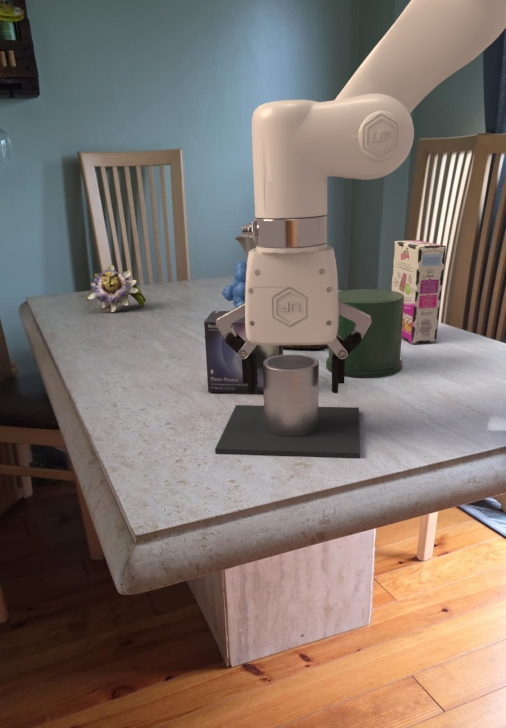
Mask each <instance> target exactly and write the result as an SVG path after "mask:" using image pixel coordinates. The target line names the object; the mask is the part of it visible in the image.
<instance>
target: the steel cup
mask: <svg viewBox="0 0 506 728" xmlns="http://www.w3.org/2000/svg"><path fill="white" fill-rule="evenodd" d="M319 380H320V361H319V360H318V358H317V357H314V356H310V355H307V354H295V353H294V354H283V355H279V356H274V357H270V358H268V359H266V360H265V361H264V362H263V382H264V394H263V406H264V420H265V429H266V430H267V431H268V432H269V433H271V434H274V435H278V436H284V437H297V436H304V435H308V434H311V433H313V432H314V431H316V430H317V428H318V407H319V391H320V390H319V388H320V387H319V385H320V384H319V383H320V381H319Z"/></svg>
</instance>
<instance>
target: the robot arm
mask: <svg viewBox="0 0 506 728" xmlns="http://www.w3.org/2000/svg"><path fill="white" fill-rule="evenodd" d="M505 29H506V0H410V1H409V2H408V3H407V5H406V6H405V8H404V9H403V11H401V13H400V14H399V16H398V17H397V19H396V20H395V22H394V23H393V24H391V26H390V27H389V29H388V30H387V32H386V33H385V34H384V35H383V36H382V38H381V39H380V40H379V41H378V42H377V44H375V46H374V47H373V49H372V50H371V51H370V52H369V54H368V55H367V56H366V58H365V59H364V60H363V61H362V63H361V64H360V65H359V66H358V68H357V69H356V70H355V72H354V73H353V74H352V76H351V77H350V79H349V80H348V81H347V83H346V84H344V85H345V86H343V88H342V89H341V91H340V92H339V94H337V96H336V98H335V99H334V100H327V101H316V100H310V99H285V100H274V101H269V102H265V103H262V104H260V105H258V106H257V107H256V108H255V110H254V111H253V113H252V117H251V147H252V148H251V151H252V175H253V176H252V177H253V200H254V201H253V203H254V217H255V218H253V221H252V222H251V223H248V224H242V225H241V235H242V237H243V238H249V239H253V241H255V245H256V248H255V249H252V250H250V251H249V254H248V259H246V260H247V261H246V264H247V269H246V285H245V303H243V304H241V305H240V306H238V307H236V308H235V307H234V308H232V309H231V310H228V311H229V312H227V313H225V314H224V315H222V316H220V317H219V318H218V319H217V320H216V325H217V327H218V329H219V330H220V332H221V334H222V336H223V337H224V338H225V342H226V343H227V344H228V345H229V346H230V347H231V348H232V349H233V350H234V351H235V352H236V353H237V354H238V356H239V358H241V359H242V375H243V383H248V392H253V391H255V389H256V387H257V384H258V378H257V355H256V354H255V352H254V349H255V347H256V346H257V345H323V344H327V345H328V346H327V347H328V349H329V348H330V349H331V350H332V351H333V352H334V354H333V356H332V372H331V393H333V394H339V385H344V384H345V377H346V376H345V358H346V357H347V355H348V354H349V353H350V352H351V351H352V350H353V349H354V348H355V347H356V346H357V345H358V344H360V342H361V340H362V338H363V336H364V335H365V333H366V331H367V330H368V328H369V326H370V324H371V322H372V321H371V316H370V315H368V314H366V313H364V312H362V311H360V310H358V309H356V308H354V307H352V306H350V305H348V304H346V303H344V302H342V301H340V300H338V292H339V280H338V268H337V267H338V266H337V259H336V254H335V248H334V247H333V246H331V245H328V179H329V177H338V178H342V179H354V180H361V181H363V180H364V181H365V180H366V181H367V180H368V181H369V180H377V179H381V178H384V177H386V176H388V175H390V174H391V173H393V172H394V171H396V170H397V169H398V168H399V167H401V165H402V164H403V163H404V162H405V160H406V159H407V158H408V156H409V154H410V152H411V149H412V147H413V143H414V139H415V127H414V122H413V118H412V116H411V113H412V112H413V111H414V109H416V107H417V106H418V105H419V104H420V103H421V102H422V101H423V100H424V99H425V98H426V97H427V96H428V95H429V94H430V93H431V92H432V91H433V90H434V89H435V88H437V87H438V86H439V85H440V84H441V83H443V82H444V81H445V80H446V79H448V78H449V77H451V76H452V75H453V74H455V73H457V72H458V71H459V70H460V69H462V68H464V67H465V66H466V65H469V64H470V63H471V62H472V61H473V60H475V59H476V58H477V57H478V56H479V55H481V54H482V53H483V52H484V51H486V49H488V47H490V45H492V44H493V43H494V42H495V41H496V40H497V39H498V38H499V37H500V36H501V34H502V33H503V32H504V30H505ZM339 315H341V316H343V317H345V318H347V319H349V320H351V321H353V322H354V323H355V324H356V326H355V328H354V330H353V332H352V333H351V334H350V335H349V336H348V337H347V338H346V339H344V340H343V339H342V338H341V337H340V336H339V335H338V324H339ZM243 317H245V329H246V336H247V340H246V341H244V340H243V339H242V338H241V337H240V336H239V335H238V334H237V333H236V332H235V331H234V329H233V327H232V323H234V322H236V321H237V320H239V319H241V318H243Z"/></svg>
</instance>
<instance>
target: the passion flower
mask: <svg viewBox="0 0 506 728" xmlns="http://www.w3.org/2000/svg"><path fill="white" fill-rule="evenodd" d="M131 274H132V271H131V270H130V269H128V270H126V271H123V272H119V271H116V268H115V266H114V265H113V264H109V265H108V267H107V268H105V269H104V270H102V272H99V273H94V277H93V276H92V275H91V276H90V279H91V281H92V283H90V287H92V292H90V293H89V294H88V295H87V296H86V300H87V301H94V300H96V299H98V300H99V302H100V309H101V310H102V311H103V310H106V309H109V310H110V313H111V312H114V313H116V311H117V309H118V306H117V305H118V304H120V305H122V306H124V307H128V306H129V304H130V301H129V295H130V296H131V297H132V298H133V299H134V300H136V302H137V303H138V305H139V306H140V307H141V308H144V307H145V303H146V301H147V299H146V297H145V296H144V295H143V294H142V291H141V288H139V286H137V280H136V279H129V278H130V276H131Z"/></svg>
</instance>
